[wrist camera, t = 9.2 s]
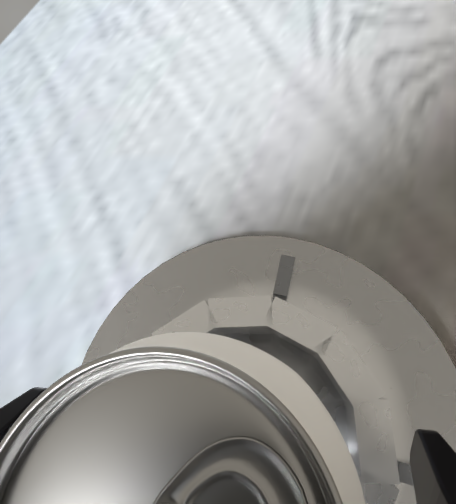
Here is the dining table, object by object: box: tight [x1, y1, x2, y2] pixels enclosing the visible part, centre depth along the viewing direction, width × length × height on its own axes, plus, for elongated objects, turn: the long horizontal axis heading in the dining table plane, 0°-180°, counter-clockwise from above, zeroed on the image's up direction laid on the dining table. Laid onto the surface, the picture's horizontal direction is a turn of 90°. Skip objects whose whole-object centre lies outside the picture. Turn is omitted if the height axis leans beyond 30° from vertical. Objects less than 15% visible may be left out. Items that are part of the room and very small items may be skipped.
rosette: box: [82, 235, 456, 504], centre depth 15 cm, size 18×18×4 cm
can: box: [0, 332, 365, 504], centre depth 10 cm, size 6×6×12 cm
